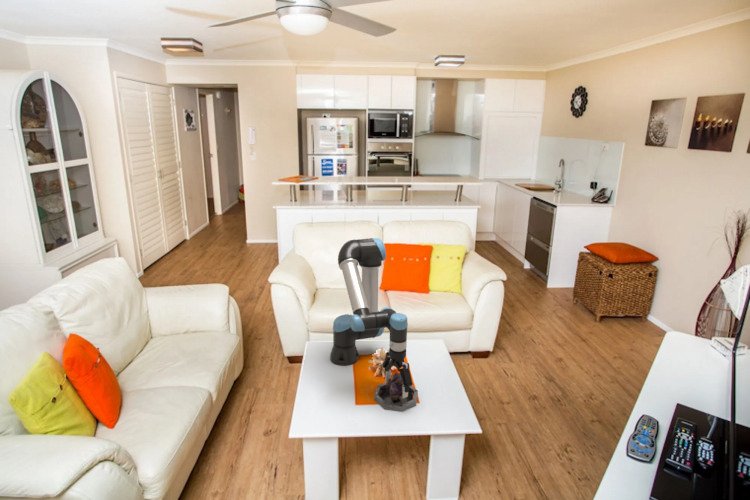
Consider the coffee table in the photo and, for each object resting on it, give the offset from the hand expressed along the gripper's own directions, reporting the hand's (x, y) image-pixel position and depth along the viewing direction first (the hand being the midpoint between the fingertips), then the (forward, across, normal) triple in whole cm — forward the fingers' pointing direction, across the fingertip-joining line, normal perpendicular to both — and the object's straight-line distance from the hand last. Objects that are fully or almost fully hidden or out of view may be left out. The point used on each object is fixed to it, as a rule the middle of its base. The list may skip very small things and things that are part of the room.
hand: (396, 390), depth 202 cm
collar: (+4, 0, 0) cm, 4 cm away
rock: (+2, +1, 0) cm, 2 cm away
